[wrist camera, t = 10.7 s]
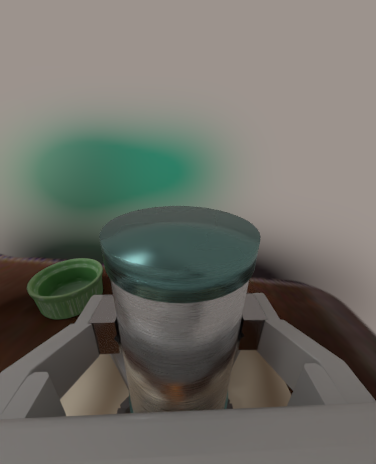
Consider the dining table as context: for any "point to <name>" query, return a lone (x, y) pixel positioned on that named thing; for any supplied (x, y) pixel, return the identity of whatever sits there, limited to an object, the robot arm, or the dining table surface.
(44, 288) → the ramekin
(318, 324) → the dining table surface
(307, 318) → the dining table surface
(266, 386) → the board
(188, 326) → the teal-capped glass jar
